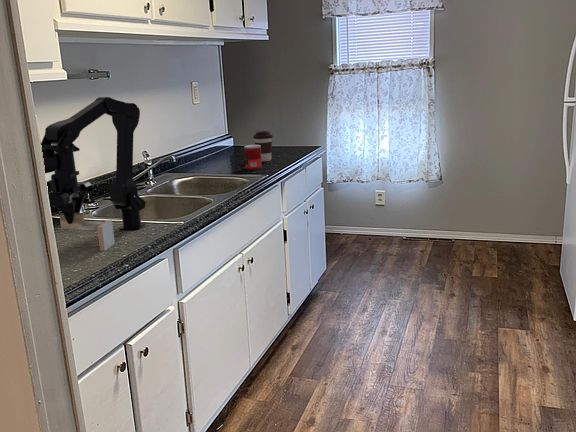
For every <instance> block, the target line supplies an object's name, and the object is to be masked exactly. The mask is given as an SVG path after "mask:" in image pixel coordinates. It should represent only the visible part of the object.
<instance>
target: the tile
mask: <svg viewBox="0 0 576 432" xmlns="http://www.w3.org/2000/svg"><path fill="white" fill-rule="evenodd" d="M96 230H97V237H98V243H99V250H100V251H102V252H103V251H106V250H108V249H109V248H111V247H112V246H113V245H114V244H115V242H116V241H115V236H114V235H115V234H114V226H113V220H112V219H109V220H108V219H107V220H105V221H104V222H103V223H102V224H101V225H99V226H98V227H97V229H96Z"/></svg>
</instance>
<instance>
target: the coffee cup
mask: <svg viewBox="0 0 576 432" xmlns="http://www.w3.org/2000/svg"><path fill="white" fill-rule="evenodd" d="M272 138H273V134H272V133H271V132H270V131H268V130H262V131H260V130H259V131H256V132H255V134H253V138H252V139H254V145H260V146H261V161H262V163H263V162H271V161H272V150H273V140H272Z"/></svg>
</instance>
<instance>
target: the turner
mask: <svg viewBox="0 0 576 432" xmlns="http://www.w3.org/2000/svg"><path fill="white" fill-rule="evenodd" d="M59 222H60V228H61V229H63V230H65V229H66V230H69V229H71V230H75V229H77V230H80V231H81V230H82V231H85V230H86V231H87V230H88V231H90V230H97V227H98V226H99V225H101V224H102V223H104V222H103V221H93V222H91V221H87V222H86V221H85V215H84V212H80V213H74V218H73V223H72V224H68V222H67V220H66V218H65V217H64V215H63V213H62V214H59Z"/></svg>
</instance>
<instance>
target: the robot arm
mask: <svg viewBox="0 0 576 432" xmlns="http://www.w3.org/2000/svg"><path fill="white" fill-rule="evenodd" d="M105 114H106V115H107V116H110V117H111V119H112V120H111V121H112V124H113V126H114V128H115V130H116V166H115V167H116V168H115V169H116V170H115V171H116V174H115V179H114V181H113V182H109V184H108V190H109V191H108V195H107V196H109V200H110V202H111V203H112V205H113V206H114V208H115V210H120V211H121V220H122V225H121V226H120V227H119V228H118V229H119V231H121V230H122V231H123V230H124V231H127V230H128V231H129V230H135V231H137V230H140V229H141V228H143V226H145V225H146V223H145V222H142V218H141V211H142V210H144V209H146V201H145V199H143V198H142V197H141V196H139V193H138V186H137V184H136V182H135V180H134V178H133V177H134V176H133V174H134V173H133V171H134V170H133V169H134V168H133V167H134V132H135V130H136V128H137V127H138V125H139V122H140V115H141V110H140V108H139V107H138V105H137V104H136V103H133V102H125V101H122V100H117V99H115V98H112V97H109V96H99V97H97V98H96V99H94V101H93V102H91V103H90V104H88V105H87V106H85V107H83V108H82V109H81V110H79V111H78V112H76V113H75V114H73V115H72V116H70V117H68V118H66V119H62V120H59V121H57V122H53V123H51V124H49V125H47V127H45V129H44V130H45V132H44V136H43V138H42V141H41V142H40V144H41V145H42V152H43V158H44V165H45V174H49V173H51V176H50V179H49V180H47V181H46V182H47V186H48V194H49V199H50V205H51V206H50V207H54V206H55V207H57V208H59V210H60V211H61V213H62V214H63V215H64V217H65V218H66V220H67V222H68V224H72V223H73V218H74V213H81V210H82V207H83V205H84V201H85V199H86V198H87V195H85V194H82V192H86V193H87V194H88V193H91V192H93V185H92V183H91V182H89V181H78V175H80V171H79V170H77V169H76V162H75V156H74V153H75V152H79V151H80V148H79V147H78V146H77V145H75V144H74V142H75V141H76V140H77V139H78V138H79V137H80V135H81V132H82V131H83V130H84V129H85V128H87V127H88V126H89V125H91V124H92V123H94V122H95V121H96V120H98V119H100V118H101V117H102V116H103V115H105ZM52 173H53V174H52Z"/></svg>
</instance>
